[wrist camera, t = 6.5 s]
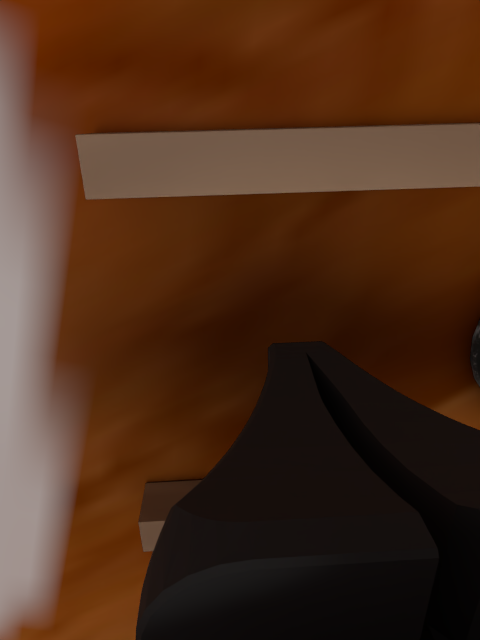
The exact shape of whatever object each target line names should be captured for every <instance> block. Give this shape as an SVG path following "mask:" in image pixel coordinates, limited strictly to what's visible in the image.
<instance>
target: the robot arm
mask: <svg viewBox="0 0 480 640" xmlns="http://www.w3.org/2000/svg"><path fill="white" fill-rule="evenodd" d="M136 640H480V430H477V429H475V428H472V427H470V426H467V425H465V424H462V423H460V422H457V421H455V420H453V419H451V418H448V417H446V416H444V415H442V414H440V413H438V412H436V411H433V410H431V409H429V408H427V407H425V406H423V405H421V404H419V403H417V402H415V401H413V400H412V399H410V398H408V397H406V396H404V395H403V394H401V393H399V392H397V391H396V390H394V389H392V388H391V387H389V386H387V385H386V384H384V383H382V382H381V381H379V380H378V379H376V378H375V377H373V376H372V375H370V374H369V373H367V372H366V371H364V370H363V369H361V368H360V367H358V366H357V365H355V364H354V363H353V362H351V361H350V360H348V359H347V358H346V357H344V356H343V355H341V354H340V353H339V352H337V351H336V350H334V349H333V348H332V347H330V346H329V345H327V344H326V343H324V342H322V341H317V342H293V343H273V344H272V345H271V346H270V347H268V373H267V377H266V381H265V384H264V387H263V390H262V392H261V395H260V397H259V400H258V402H257V404H256V407H255V409H254V411H253V413H252V415H251V417H250V418H249V420H248V422H247V424H246V425H245V427H244V429H243V430H242V432H241V433H240V435H239V436H238V438H237V439H236V441H235V442H234V444H233V445H232V446H231V448H230V449H229V450H228V452H227V453H226V454H225V455H224V456H223V458H222V459H221V460H220V461H219V462H218V463H217V464H216V465H215V467H214V468H213V469H212V470H211V471H210V472H209V473H208V475H207V476H206V477H205V478H204V479H203V480H202V481H201V482H200V483H199V484H197V485H196V486H195V487H194V488H193V489H192V490H191V491H190V492H188V493H187V494H186V495H185V496H184V497H183V498H182V499H181V500H179V501H178V502H177V503H176V504H175V505H174V506H172V507H171V509H170V511H169V514H168V516H167V518H166V520H165V523H164V525H163V527H162V530H161V532H160V535H159V537H158V540H157V543H156V545H155V548H154V550H153V553H152V556H151V559H150V563H149V566H148V569H147V573H146V577H145V580H144V584H143V588H142V593H141V599H140V606H139V613H138V620H137V626H136Z"/></svg>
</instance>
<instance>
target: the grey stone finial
mask: <svg viewBox="0 0 480 640" xmlns="http://www.w3.org/2000/svg"><path fill="white" fill-rule="evenodd" d="M470 361H471V366H472V371H473V376H474V379H475V380H476V382H477V383H478V385H479V387H480V320H479V322H478V325H477V327H476V330H475V332H474V335H473V338H472V346H471V355H470Z"/></svg>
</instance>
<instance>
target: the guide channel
mask: <svg viewBox="0 0 480 640" xmlns="http://www.w3.org/2000/svg"><path fill="white" fill-rule="evenodd" d="M75 136H76V142H77V148H78V154H79V161H80V167H81V173H82V179H83V185H84V191H85V197H86V199H113V198H143V197H173V196H204V195H234V194H264V193H294V192H324V191H355V190H385V189H415V188H445V187H475V186H480V123H453V124H416V125H379V126H342V127H305V128H268V129H231V130H194V131H157V132H120V133H91V134H80V135H75ZM201 481H202V480H191V481H174V482H158V483H146V485H145V490H144V495H143V501H142V506H141V512H140V517H139V528H140V535H141V541H142V547H143V552H146V551H153V550H154V548H155V545H156V543H157V540H158V537H159V535H160V532H161V530H162V527H163V525H164V523H165V520H166V518H167V516H168V514H169V511H170V509H171V507H172V506H174V505H175V504H176V503H177V502H178V501H179V500H181V499H182V498H183V497H184V496H185V495H186V494H187V493H188V492H190V491H191V490H192V489H193V488H194V487H195V486H196V485H197V484H199V483H200V482H201Z"/></svg>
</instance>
